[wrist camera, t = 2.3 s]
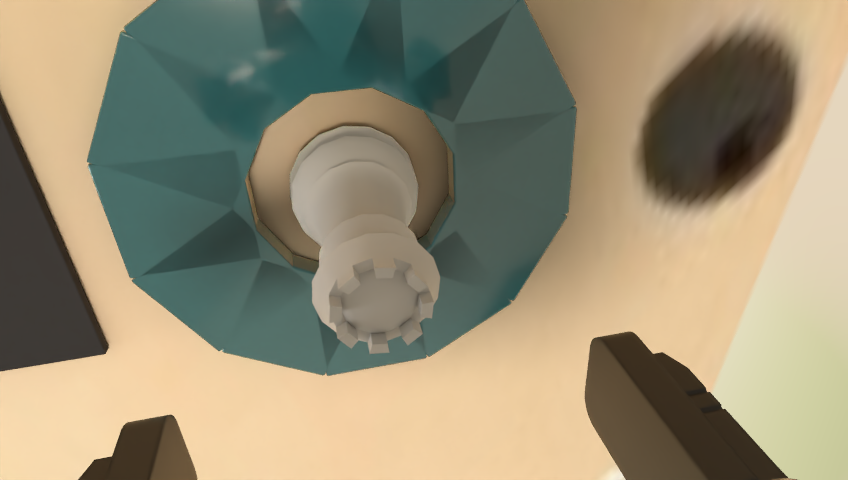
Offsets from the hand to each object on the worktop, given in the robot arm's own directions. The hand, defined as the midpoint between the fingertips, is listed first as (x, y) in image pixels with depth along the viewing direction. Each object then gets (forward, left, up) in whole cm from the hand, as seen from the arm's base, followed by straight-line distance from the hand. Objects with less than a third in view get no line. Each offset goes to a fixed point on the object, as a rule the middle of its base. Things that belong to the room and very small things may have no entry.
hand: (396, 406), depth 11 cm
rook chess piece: (0, 0, -11) cm, 11 cm away
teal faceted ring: (0, 0, -11) cm, 11 cm away
